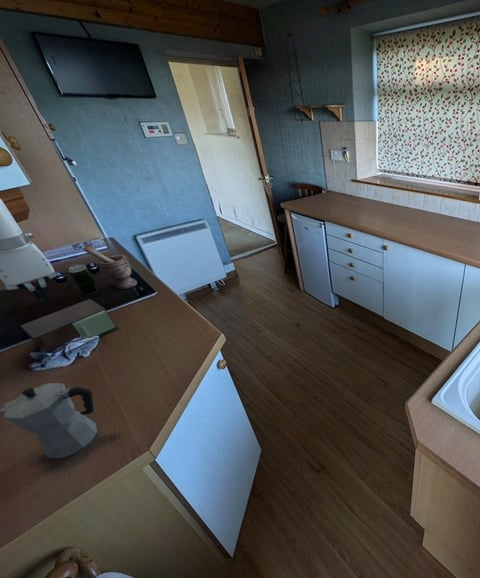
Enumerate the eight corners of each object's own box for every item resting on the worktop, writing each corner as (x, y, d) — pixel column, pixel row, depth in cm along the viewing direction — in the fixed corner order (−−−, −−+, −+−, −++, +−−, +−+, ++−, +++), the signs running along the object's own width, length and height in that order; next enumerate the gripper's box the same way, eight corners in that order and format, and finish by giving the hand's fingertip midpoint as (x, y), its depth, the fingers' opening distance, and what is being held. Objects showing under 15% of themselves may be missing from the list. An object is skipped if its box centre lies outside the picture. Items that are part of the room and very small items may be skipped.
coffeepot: (25, 469, 64) (-35, 419, 55) (49, 432, 72) (-1, 382, 62) (111, 445, 69) (69, 395, 60) (125, 412, 76) (89, 363, 67)
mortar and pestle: (106, 295, 124) (81, 251, 113) (105, 286, 129) (81, 245, 119) (139, 286, 130) (118, 244, 120) (137, 278, 136) (117, 238, 125)
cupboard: (52, 359, 92) (36, 340, 88) (35, 344, 98) (20, 325, 94) (119, 328, 105) (108, 310, 101) (100, 316, 111) (89, 298, 107)
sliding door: (85, 341, 98) (73, 325, 94) (82, 340, 99) (71, 323, 95) (116, 327, 104) (106, 311, 101) (113, 325, 105) (104, 310, 101)
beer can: (100, 287, 129) (86, 263, 122) (98, 293, 125) (83, 268, 119) (84, 291, 126) (69, 266, 120) (82, 296, 122) (66, 271, 116)
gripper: (39, 231, 86) (71, 285, 96) (-41, 248, 75) (4, 307, 85) (49, 237, 83) (81, 291, 93) (-33, 255, 72) (13, 315, 82)
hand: (44, 298), depth 89 cm, fingers closed
